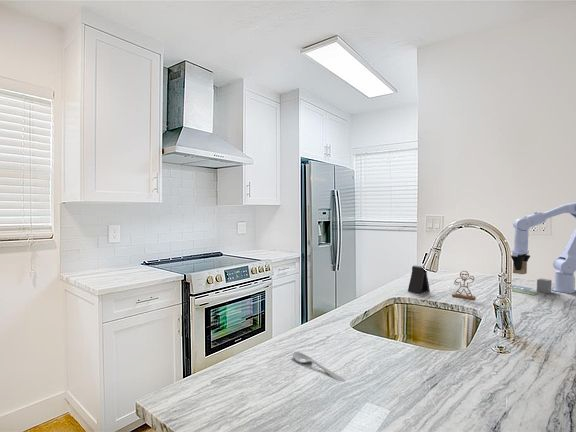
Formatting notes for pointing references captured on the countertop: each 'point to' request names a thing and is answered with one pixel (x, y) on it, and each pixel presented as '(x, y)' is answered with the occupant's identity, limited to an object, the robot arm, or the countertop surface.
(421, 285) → the phone stand
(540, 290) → the grey block
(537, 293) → the rubber mat
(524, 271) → the walnut block
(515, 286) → the blue card
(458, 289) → the grey figurine
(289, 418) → the countertop surface
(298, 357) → the spoon
